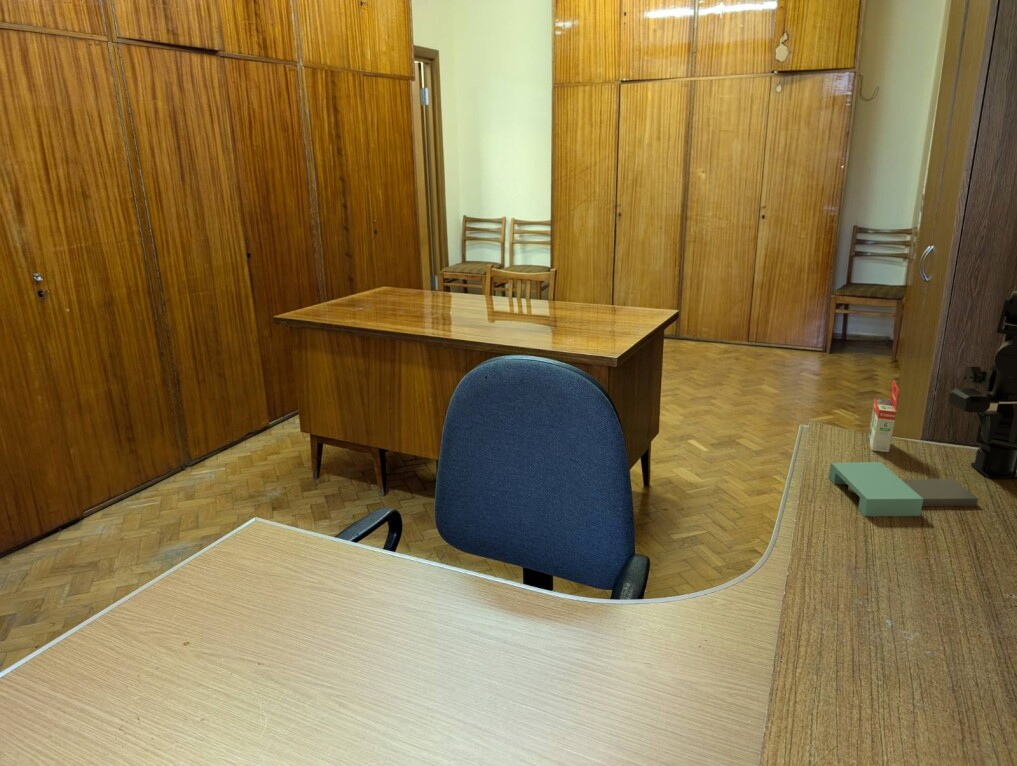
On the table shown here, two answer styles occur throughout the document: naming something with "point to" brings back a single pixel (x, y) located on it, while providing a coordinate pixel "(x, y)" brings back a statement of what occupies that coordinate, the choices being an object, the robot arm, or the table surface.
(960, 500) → the thin grey plate
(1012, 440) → the robot arm
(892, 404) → the ink box
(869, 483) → the overhang
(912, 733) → the table surface
